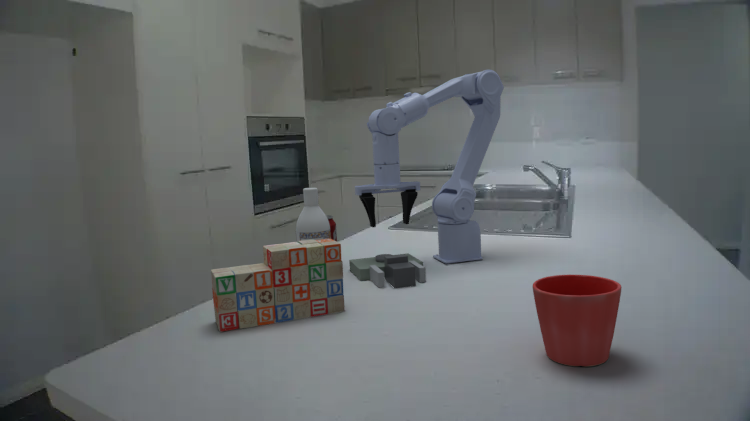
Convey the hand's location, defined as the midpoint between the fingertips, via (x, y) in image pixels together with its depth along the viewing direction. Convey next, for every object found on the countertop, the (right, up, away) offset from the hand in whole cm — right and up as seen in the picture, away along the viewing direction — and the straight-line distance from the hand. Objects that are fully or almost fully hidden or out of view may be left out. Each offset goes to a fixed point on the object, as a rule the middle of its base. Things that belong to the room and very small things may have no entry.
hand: (389, 225), depth 125 cm
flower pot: (+23, -16, -51) cm, 58 cm away
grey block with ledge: (+2, -12, -11) cm, 16 cm away
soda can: (-15, -10, +5) cm, 19 cm away
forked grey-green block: (0, -11, -4) cm, 12 cm away
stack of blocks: (-19, -15, -28) cm, 38 cm away
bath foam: (-15, -12, -9) cm, 21 cm away
